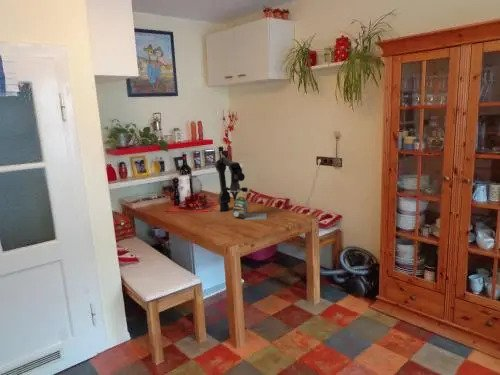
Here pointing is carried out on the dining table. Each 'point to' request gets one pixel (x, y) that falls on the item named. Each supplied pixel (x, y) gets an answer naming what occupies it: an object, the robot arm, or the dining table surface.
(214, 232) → the dining table surface
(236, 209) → the chalk box
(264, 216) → the mat
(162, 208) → the dining table surface
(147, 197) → the dining table surface
